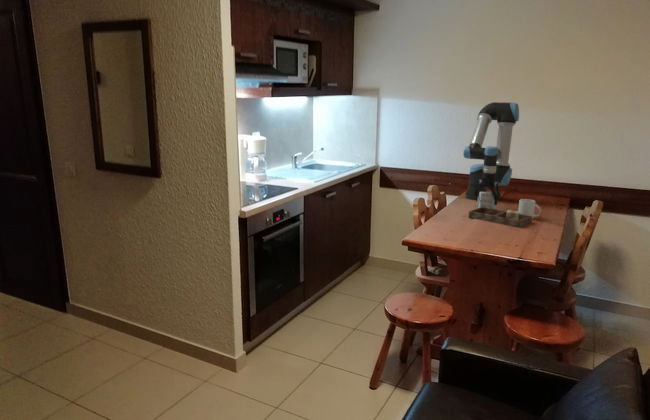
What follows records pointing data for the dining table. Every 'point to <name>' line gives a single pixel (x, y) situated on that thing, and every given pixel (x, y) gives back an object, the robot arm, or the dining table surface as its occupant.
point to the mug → (528, 207)
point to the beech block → (512, 215)
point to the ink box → (485, 199)
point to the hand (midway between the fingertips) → (485, 208)
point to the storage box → (498, 217)
